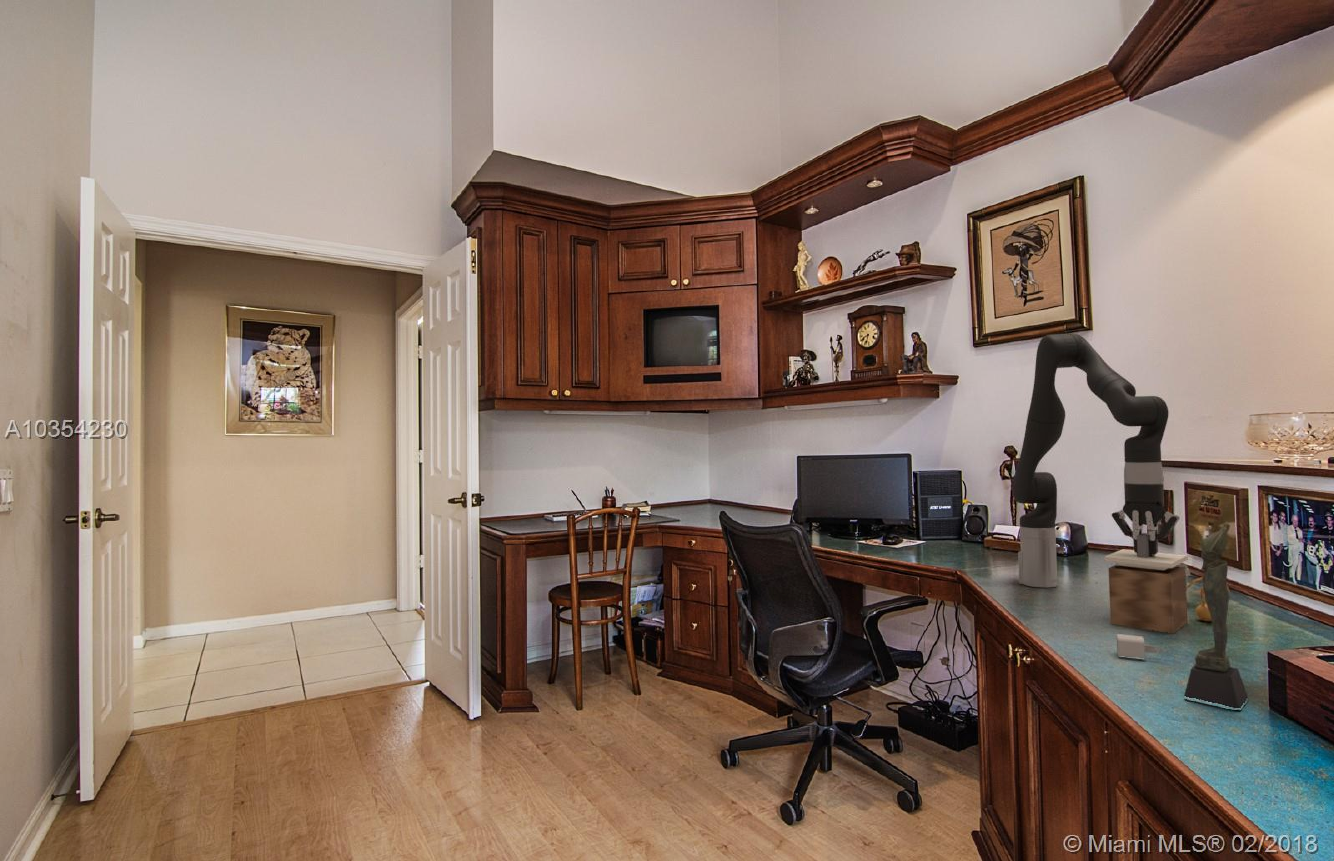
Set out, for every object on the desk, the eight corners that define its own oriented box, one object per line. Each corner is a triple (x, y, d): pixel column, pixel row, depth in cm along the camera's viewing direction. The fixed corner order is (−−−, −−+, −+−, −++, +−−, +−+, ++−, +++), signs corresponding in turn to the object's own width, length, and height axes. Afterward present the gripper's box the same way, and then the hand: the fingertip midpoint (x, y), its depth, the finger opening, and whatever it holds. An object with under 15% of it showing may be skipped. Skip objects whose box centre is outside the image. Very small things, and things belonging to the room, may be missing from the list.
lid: (1104, 565, 159) (1103, 535, 159) (1122, 557, 167) (1121, 528, 167) (1171, 572, 149) (1170, 540, 149) (1187, 563, 157) (1186, 533, 157)
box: (1110, 623, 159) (1108, 567, 159) (1127, 614, 166) (1125, 560, 167) (1172, 633, 150) (1170, 574, 150) (1187, 623, 157) (1185, 567, 157)
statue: (1193, 688, 118) (1186, 516, 119) (1249, 700, 112) (1241, 519, 113) (1182, 699, 113) (1175, 520, 114) (1240, 712, 108) (1232, 523, 108)
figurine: (1225, 620, 159) (1223, 568, 159) (1235, 627, 153) (1233, 573, 153) (1182, 617, 162) (1180, 567, 162) (1190, 624, 156) (1188, 572, 157)
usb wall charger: (1117, 652, 138) (1116, 633, 138) (1158, 657, 135) (1158, 637, 135) (1118, 658, 135) (1117, 638, 135) (1161, 663, 131) (1160, 642, 131)
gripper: (1104, 481, 161) (1106, 554, 161) (1174, 483, 151) (1177, 561, 151) (1115, 479, 166) (1117, 550, 166) (1183, 481, 156) (1186, 557, 155)
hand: (1146, 555), depth 158 cm, fingers closed on lid
